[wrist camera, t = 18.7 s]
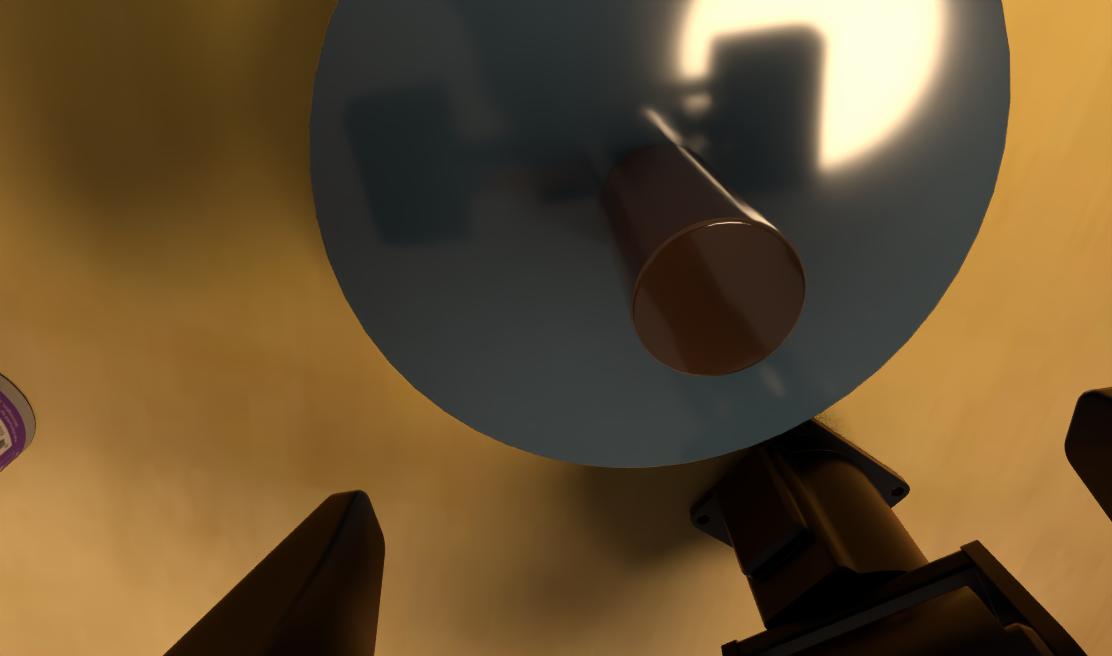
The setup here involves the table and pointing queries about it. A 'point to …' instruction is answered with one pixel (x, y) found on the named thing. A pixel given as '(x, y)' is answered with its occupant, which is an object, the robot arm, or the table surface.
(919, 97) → the lid
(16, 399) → the container
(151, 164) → the table surface
